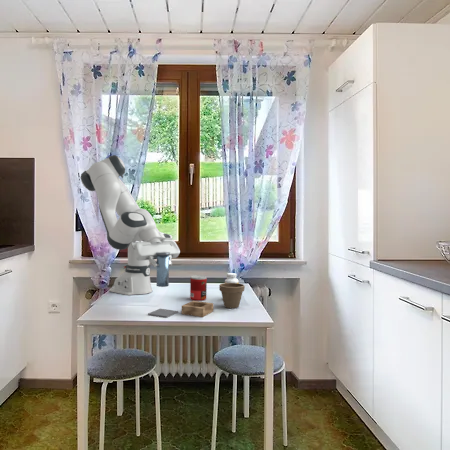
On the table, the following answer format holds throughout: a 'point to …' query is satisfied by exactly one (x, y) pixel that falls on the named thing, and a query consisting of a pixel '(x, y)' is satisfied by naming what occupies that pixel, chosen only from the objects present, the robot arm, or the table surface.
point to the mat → (163, 313)
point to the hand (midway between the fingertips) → (163, 265)
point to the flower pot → (231, 294)
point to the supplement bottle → (231, 278)
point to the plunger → (163, 269)
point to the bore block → (197, 308)
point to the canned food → (198, 287)
